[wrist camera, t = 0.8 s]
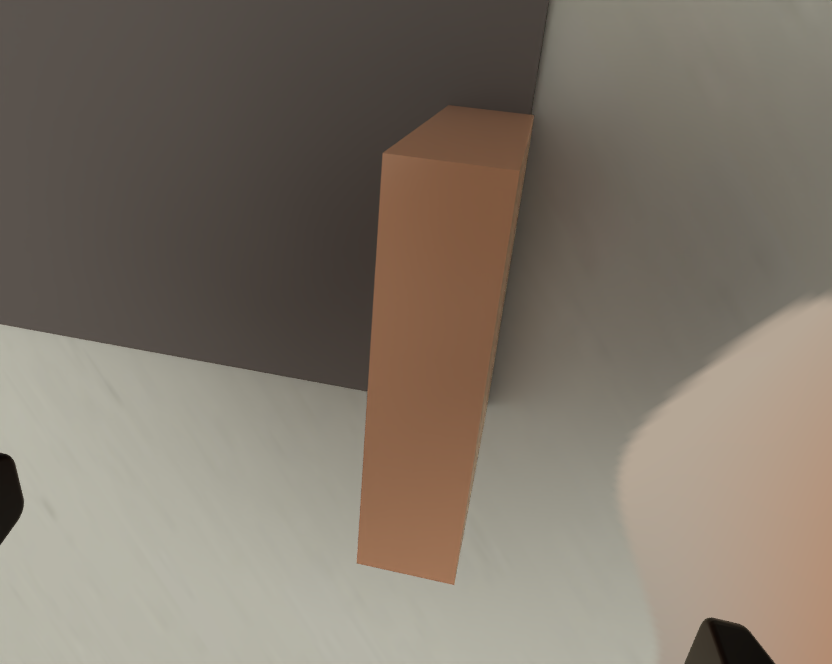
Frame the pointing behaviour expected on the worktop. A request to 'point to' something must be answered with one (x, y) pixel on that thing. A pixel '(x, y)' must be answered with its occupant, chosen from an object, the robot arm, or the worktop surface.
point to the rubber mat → (226, 163)
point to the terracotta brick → (436, 331)
